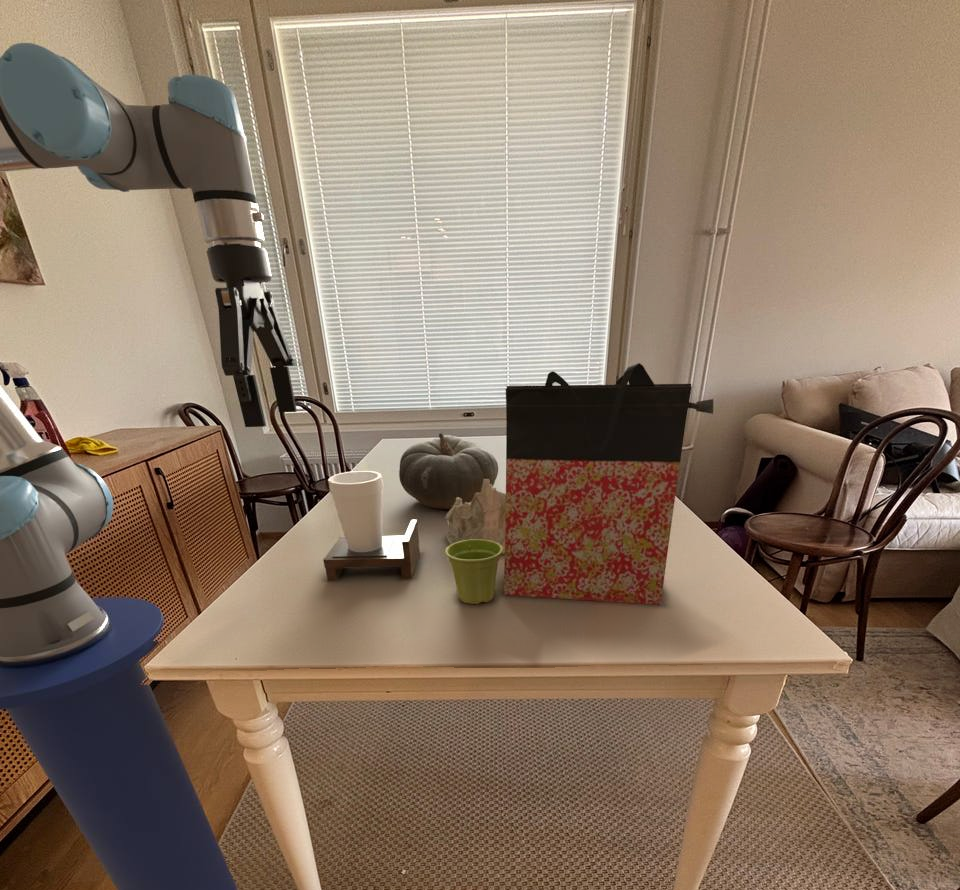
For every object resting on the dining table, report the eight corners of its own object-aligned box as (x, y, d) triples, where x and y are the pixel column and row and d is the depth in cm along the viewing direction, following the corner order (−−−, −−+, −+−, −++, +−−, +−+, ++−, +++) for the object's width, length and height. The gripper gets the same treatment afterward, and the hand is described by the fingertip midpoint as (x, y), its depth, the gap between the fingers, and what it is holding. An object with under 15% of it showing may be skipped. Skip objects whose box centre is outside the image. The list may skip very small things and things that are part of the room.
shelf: (326, 580, 100) (319, 543, 96) (342, 555, 110) (336, 521, 106) (412, 578, 99) (408, 541, 95) (420, 553, 109) (417, 519, 105)
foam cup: (332, 554, 99) (319, 483, 92) (350, 537, 107) (339, 470, 100) (382, 555, 98) (372, 484, 91) (396, 538, 106) (388, 470, 99)
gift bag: (500, 602, 89) (497, 368, 71) (513, 568, 101) (514, 360, 83) (685, 615, 84) (732, 364, 66) (676, 577, 96) (714, 356, 78)
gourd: (453, 472, 155) (452, 411, 143) (517, 502, 142) (522, 437, 130) (384, 501, 141) (376, 435, 130) (448, 537, 129) (446, 468, 117)
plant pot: (439, 604, 90) (435, 556, 85) (462, 582, 97) (459, 536, 92) (490, 613, 86) (489, 563, 82) (511, 589, 94) (510, 542, 89)
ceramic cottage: (541, 544, 111) (538, 470, 103) (471, 564, 105) (462, 486, 98) (505, 527, 123) (500, 460, 116) (440, 544, 117) (430, 474, 110)
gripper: (222, 232, 60) (267, 433, 71) (294, 254, 81) (320, 406, 92) (156, 234, 60) (211, 434, 71) (245, 256, 81) (277, 407, 92)
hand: (273, 418), depth 81 cm, fingers open, 13 cm apart
